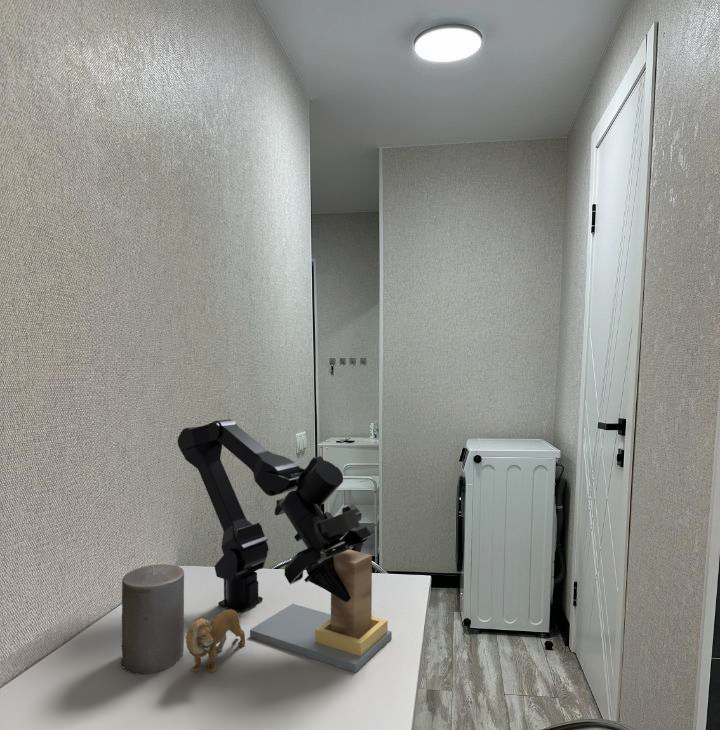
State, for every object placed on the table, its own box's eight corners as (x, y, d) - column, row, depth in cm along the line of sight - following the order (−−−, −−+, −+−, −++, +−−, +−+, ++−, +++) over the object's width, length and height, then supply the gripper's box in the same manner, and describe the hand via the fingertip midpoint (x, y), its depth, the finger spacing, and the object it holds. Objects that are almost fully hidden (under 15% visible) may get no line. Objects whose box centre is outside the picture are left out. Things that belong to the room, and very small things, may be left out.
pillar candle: (107, 667, 83) (107, 573, 84) (152, 637, 93) (152, 552, 93) (155, 680, 80) (155, 582, 80) (197, 648, 89) (197, 560, 89)
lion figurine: (209, 688, 78) (208, 627, 78) (177, 684, 79) (176, 624, 79) (251, 639, 92) (251, 587, 92) (223, 635, 93) (223, 585, 93)
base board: (250, 636, 93) (249, 618, 93) (292, 609, 103) (292, 593, 103) (355, 672, 81) (355, 651, 81) (391, 638, 91) (391, 619, 91)
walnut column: (330, 633, 89) (331, 557, 89) (348, 622, 93) (349, 549, 93) (354, 642, 86) (354, 563, 86) (371, 630, 90) (371, 555, 90)
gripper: (296, 503, 85) (352, 588, 78) (362, 483, 100) (413, 552, 93) (262, 543, 89) (312, 626, 83) (330, 517, 104) (377, 586, 98)
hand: (357, 594), depth 89 cm, fingers closed on walnut column, 5 cm apart
